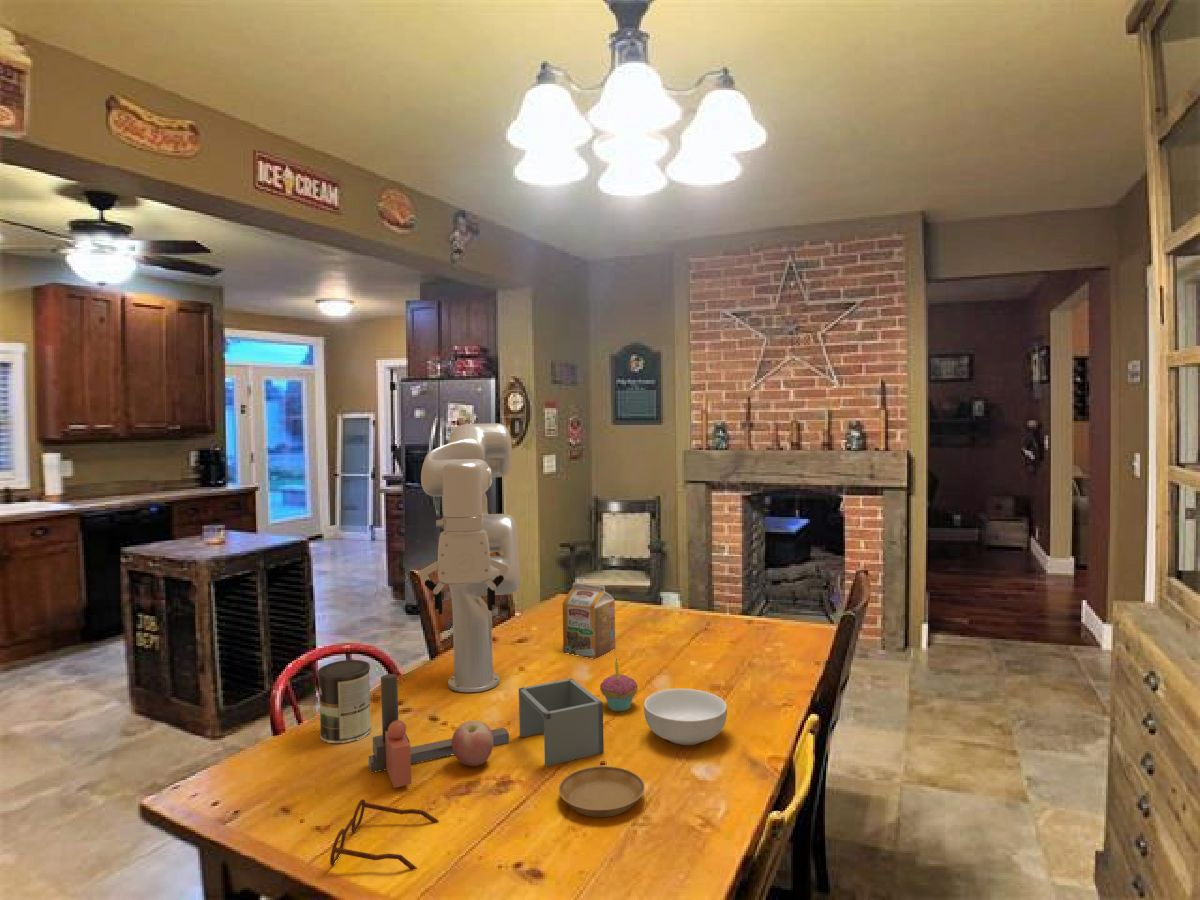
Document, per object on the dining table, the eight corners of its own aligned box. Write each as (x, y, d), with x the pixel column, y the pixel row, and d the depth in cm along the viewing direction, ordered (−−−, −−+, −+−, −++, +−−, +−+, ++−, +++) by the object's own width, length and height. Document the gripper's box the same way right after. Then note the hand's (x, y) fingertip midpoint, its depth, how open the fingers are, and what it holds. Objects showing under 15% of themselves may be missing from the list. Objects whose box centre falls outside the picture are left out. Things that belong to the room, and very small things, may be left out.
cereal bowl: (673, 763, 138) (672, 726, 137) (629, 730, 152) (629, 697, 152) (744, 743, 146) (744, 708, 145) (696, 714, 160) (696, 682, 160)
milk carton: (615, 649, 206) (614, 582, 205) (595, 659, 197) (594, 590, 196) (584, 643, 212) (583, 578, 211) (563, 653, 203) (562, 586, 202)
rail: (368, 766, 138) (368, 756, 138) (504, 737, 150) (504, 727, 150) (371, 773, 136) (370, 762, 136) (509, 742, 148) (508, 733, 147)
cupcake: (634, 716, 160) (633, 662, 159) (596, 713, 161) (595, 660, 161) (640, 701, 168) (639, 649, 168) (604, 698, 170) (603, 648, 169)
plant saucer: (578, 833, 115) (577, 817, 115) (547, 790, 129) (546, 776, 129) (660, 812, 121) (660, 796, 121) (622, 773, 135) (622, 759, 135)
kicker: (373, 757, 140) (370, 675, 139) (404, 751, 142) (402, 670, 142) (385, 789, 128) (382, 699, 127) (419, 781, 130) (417, 693, 130)
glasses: (360, 823, 120) (359, 793, 119) (439, 823, 119) (438, 793, 119) (328, 873, 107) (327, 840, 106) (416, 873, 106) (415, 840, 106)
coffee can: (313, 745, 148) (311, 677, 147) (328, 724, 158) (325, 660, 157) (365, 743, 149) (363, 675, 148) (376, 722, 159) (374, 658, 158)
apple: (444, 769, 137) (443, 728, 136) (466, 752, 144) (465, 712, 143) (480, 777, 134) (479, 734, 133) (501, 758, 141) (500, 718, 140)
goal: (519, 735, 151) (518, 688, 150) (572, 724, 156) (571, 678, 155) (546, 766, 137) (545, 714, 137) (603, 752, 142) (602, 702, 142)
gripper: (417, 529, 138) (419, 619, 138) (509, 525, 141) (511, 612, 142) (418, 524, 145) (420, 609, 146) (505, 520, 149) (507, 603, 149)
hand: (465, 610), depth 144 cm, fingers open, 9 cm apart
